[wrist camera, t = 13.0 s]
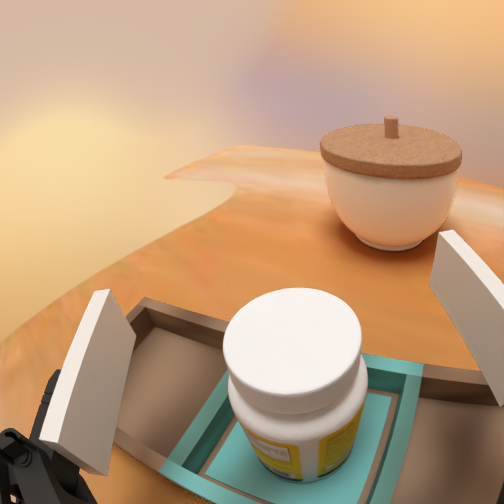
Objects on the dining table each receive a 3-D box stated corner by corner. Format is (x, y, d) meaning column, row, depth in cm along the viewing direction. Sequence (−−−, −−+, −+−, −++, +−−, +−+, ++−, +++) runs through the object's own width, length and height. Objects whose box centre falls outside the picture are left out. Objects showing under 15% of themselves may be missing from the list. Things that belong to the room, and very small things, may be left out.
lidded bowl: (302, 224, 32) (289, 117, 26) (389, 192, 35) (388, 102, 29) (386, 291, 22) (395, 146, 16) (473, 237, 25) (487, 127, 19)
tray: (80, 417, 17) (55, 393, 15) (158, 325, 24) (144, 296, 22) (514, 555, 4) (547, 547, 3) (534, 405, 11) (557, 377, 9)
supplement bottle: (345, 394, 15) (355, 269, 10) (360, 474, 11) (400, 387, 6) (254, 406, 15) (215, 289, 11) (256, 488, 12) (201, 415, 7)
